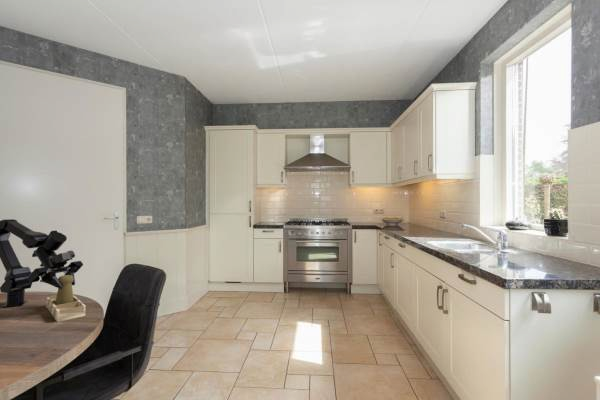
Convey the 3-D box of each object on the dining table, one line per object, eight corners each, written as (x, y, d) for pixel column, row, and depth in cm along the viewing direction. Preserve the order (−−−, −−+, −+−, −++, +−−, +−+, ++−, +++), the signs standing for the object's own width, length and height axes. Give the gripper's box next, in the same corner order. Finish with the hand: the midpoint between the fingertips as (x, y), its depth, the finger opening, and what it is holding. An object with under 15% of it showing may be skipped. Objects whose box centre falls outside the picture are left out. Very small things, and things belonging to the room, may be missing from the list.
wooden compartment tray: (45, 306, 127) (46, 296, 127) (70, 301, 133) (71, 292, 133) (57, 321, 110) (57, 311, 110) (85, 315, 117) (85, 305, 117)
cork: (76, 299, 126) (77, 273, 126) (69, 304, 120) (70, 276, 120) (59, 300, 124) (60, 274, 124) (51, 305, 118) (53, 277, 118)
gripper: (35, 248, 114) (55, 279, 111) (81, 242, 132) (99, 269, 130) (19, 266, 116) (38, 297, 113) (66, 258, 134) (84, 285, 131)
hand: (67, 286), depth 122 cm, fingers closed on cork, 5 cm apart
